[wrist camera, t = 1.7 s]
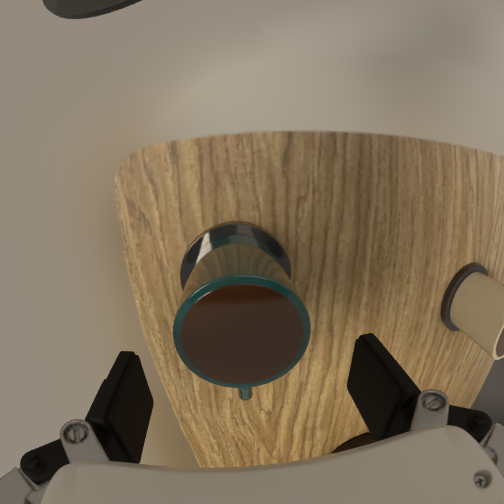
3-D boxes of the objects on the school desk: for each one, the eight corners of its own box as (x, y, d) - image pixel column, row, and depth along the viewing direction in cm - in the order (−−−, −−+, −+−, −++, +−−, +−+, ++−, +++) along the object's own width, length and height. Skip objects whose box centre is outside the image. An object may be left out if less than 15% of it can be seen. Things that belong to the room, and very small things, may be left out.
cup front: (185, 237, 19) (161, 279, 11) (282, 231, 19) (315, 270, 12) (199, 350, 21) (193, 421, 14) (281, 344, 22) (302, 412, 15)
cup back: (443, 331, 24) (484, 368, 17) (457, 274, 22) (509, 306, 15) (488, 315, 25) (525, 342, 17) (501, 266, 23) (544, 289, 16)
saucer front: (176, 225, 19) (174, 227, 18) (289, 218, 20) (291, 220, 19) (188, 324, 21) (187, 329, 21) (288, 317, 22) (290, 322, 21)
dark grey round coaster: (449, 266, 23) (454, 268, 22) (490, 260, 23) (494, 262, 22) (433, 334, 25) (437, 337, 24) (474, 320, 25) (478, 323, 25)
